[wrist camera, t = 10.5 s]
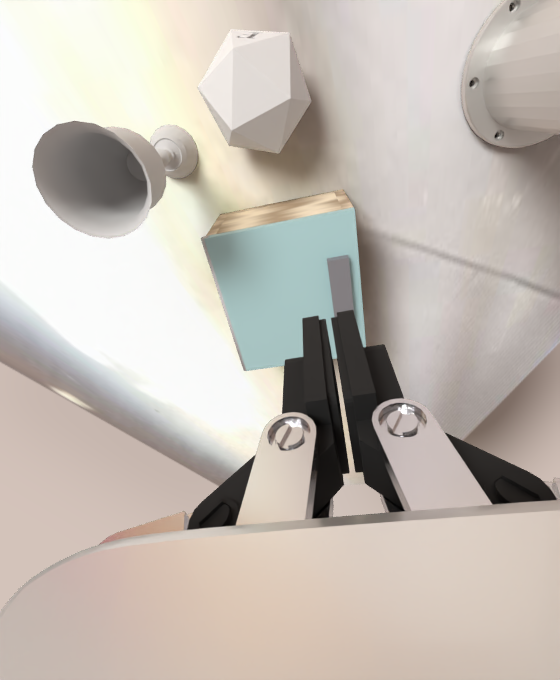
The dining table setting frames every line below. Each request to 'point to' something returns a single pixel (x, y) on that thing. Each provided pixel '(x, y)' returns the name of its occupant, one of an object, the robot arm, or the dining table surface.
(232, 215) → the chest
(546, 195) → the dining table surface
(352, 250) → the lid
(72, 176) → the chalice
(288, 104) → the die
